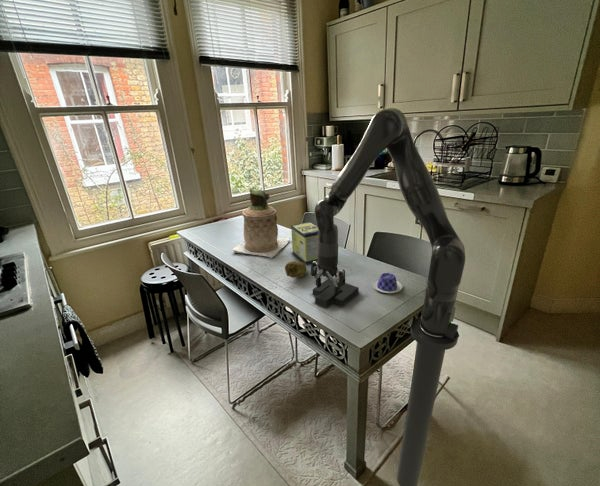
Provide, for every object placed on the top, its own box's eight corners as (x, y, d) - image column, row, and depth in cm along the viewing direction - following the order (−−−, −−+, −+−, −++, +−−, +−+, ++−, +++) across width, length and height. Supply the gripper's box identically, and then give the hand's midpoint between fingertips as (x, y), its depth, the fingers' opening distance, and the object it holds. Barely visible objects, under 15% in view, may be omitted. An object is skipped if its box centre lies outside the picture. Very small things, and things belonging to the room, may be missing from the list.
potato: (314, 274, 142) (313, 258, 139) (292, 284, 135) (291, 267, 131) (301, 268, 148) (301, 253, 145) (280, 277, 140) (279, 261, 137)
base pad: (358, 292, 127) (358, 287, 126) (342, 306, 119) (342, 300, 118) (329, 282, 135) (329, 277, 134) (312, 294, 127) (312, 289, 126)
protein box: (309, 249, 168) (309, 221, 162) (324, 260, 155) (324, 230, 149) (292, 253, 164) (290, 225, 158) (305, 264, 151) (304, 234, 145)
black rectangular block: (340, 296, 125) (340, 289, 124) (325, 307, 118) (325, 301, 117) (329, 292, 128) (329, 285, 127) (315, 303, 121) (315, 296, 120)
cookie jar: (274, 258, 159) (269, 196, 145) (231, 253, 166) (222, 193, 152) (290, 240, 180) (288, 184, 166) (251, 237, 187) (246, 182, 174)
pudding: (391, 298, 123) (392, 286, 121) (366, 287, 131) (367, 275, 129) (407, 286, 130) (409, 275, 128) (382, 277, 138) (383, 266, 136)
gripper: (350, 253, 113) (348, 292, 120) (318, 244, 121) (318, 281, 128) (338, 260, 108) (337, 300, 115) (306, 250, 116) (307, 288, 123)
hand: (327, 290), depth 121 cm, fingers open, 8 cm apart
